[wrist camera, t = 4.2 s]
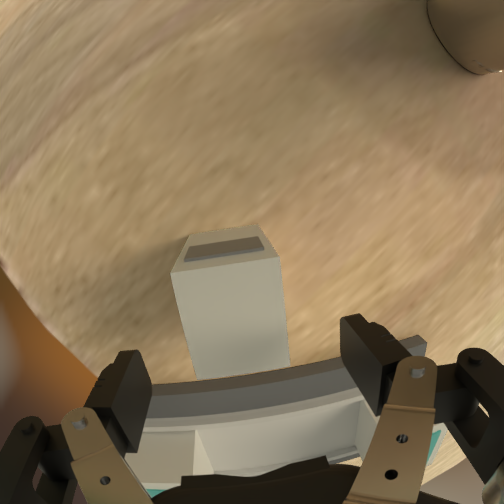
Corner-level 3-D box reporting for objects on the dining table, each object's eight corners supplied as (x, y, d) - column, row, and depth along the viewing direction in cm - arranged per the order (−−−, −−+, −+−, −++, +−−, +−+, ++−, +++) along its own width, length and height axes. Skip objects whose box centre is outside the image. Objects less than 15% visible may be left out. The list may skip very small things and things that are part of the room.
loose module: (189, 232, 20) (169, 269, 12) (257, 221, 20) (279, 252, 12) (204, 310, 21) (197, 379, 14) (267, 300, 22) (290, 366, 14)
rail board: (115, 386, 22) (88, 454, 15) (418, 334, 24) (470, 383, 16) (163, 474, 26) (157, 532, 18) (397, 432, 28) (427, 480, 20)
